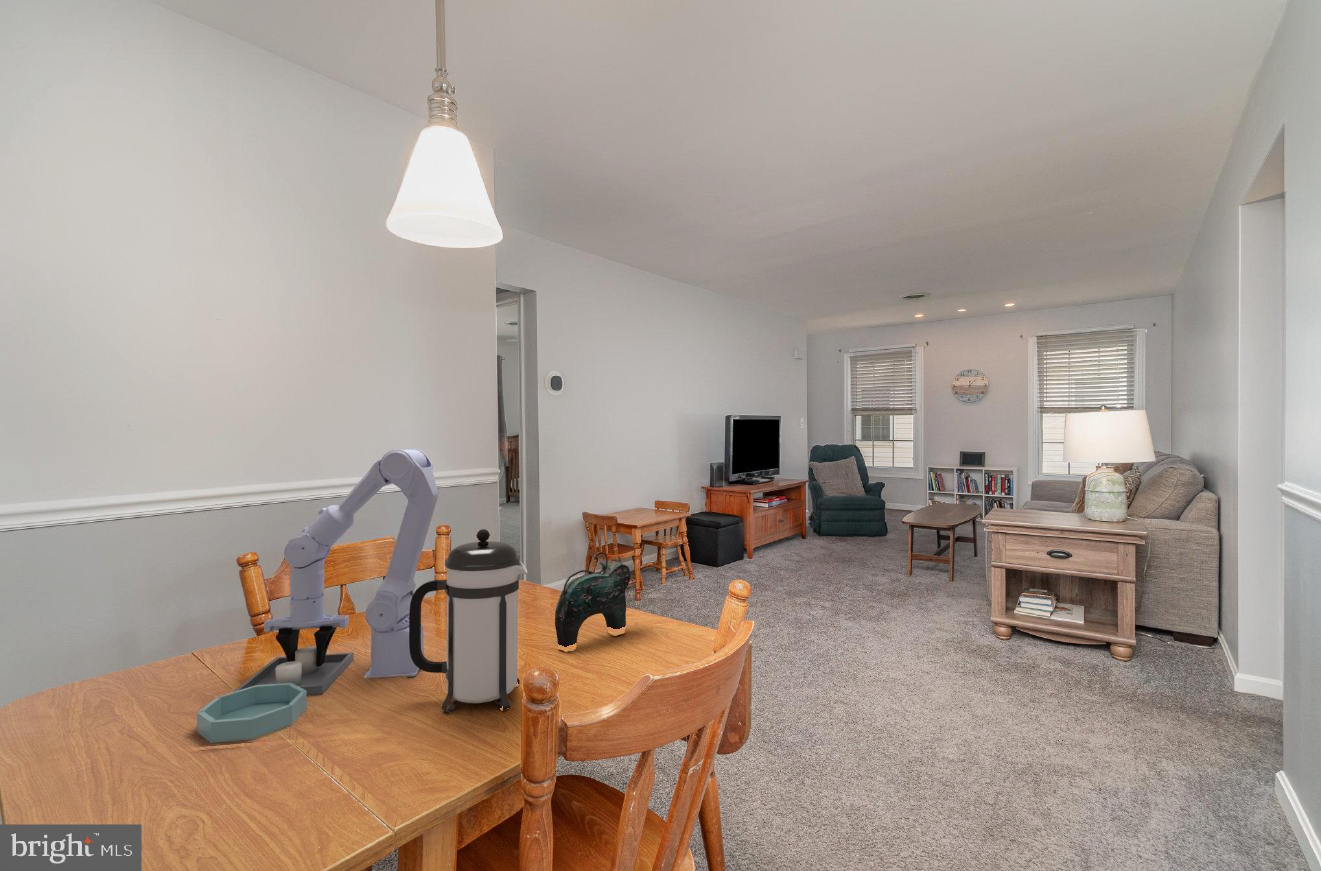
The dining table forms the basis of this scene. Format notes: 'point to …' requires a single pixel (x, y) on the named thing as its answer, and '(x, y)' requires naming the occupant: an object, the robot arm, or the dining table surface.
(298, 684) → the pebble
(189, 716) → the dining table surface
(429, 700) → the dining table surface
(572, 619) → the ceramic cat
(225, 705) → the bowl
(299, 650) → the pebble
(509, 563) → the coffee press
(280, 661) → the parts tray
